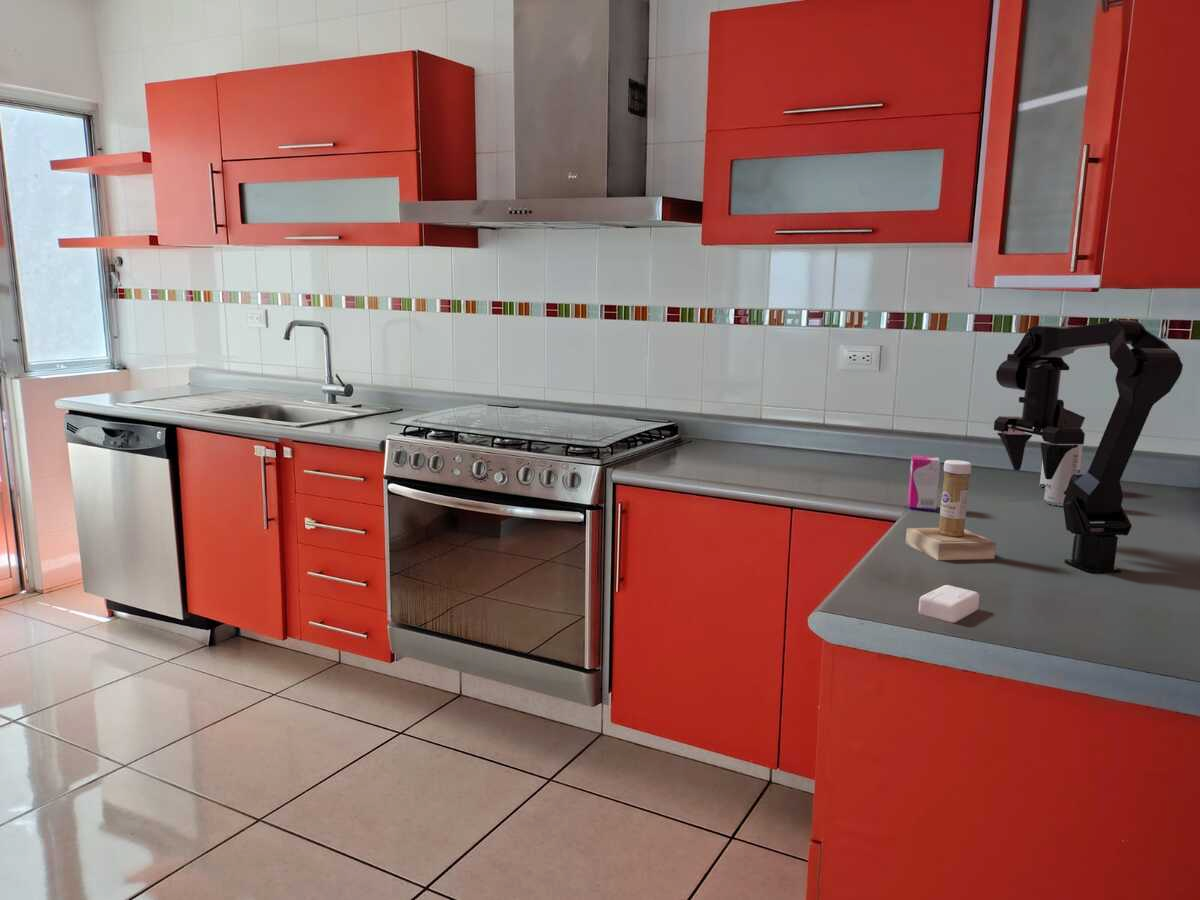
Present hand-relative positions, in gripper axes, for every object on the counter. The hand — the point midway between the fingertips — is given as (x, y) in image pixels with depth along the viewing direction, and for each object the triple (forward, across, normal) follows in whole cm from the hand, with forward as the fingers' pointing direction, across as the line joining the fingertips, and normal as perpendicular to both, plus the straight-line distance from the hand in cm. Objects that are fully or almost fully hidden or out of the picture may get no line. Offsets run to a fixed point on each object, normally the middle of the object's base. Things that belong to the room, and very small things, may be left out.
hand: (1032, 474), depth 170 cm
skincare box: (+13, +49, -45) cm, 68 cm away
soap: (+14, -37, +39) cm, 56 cm away
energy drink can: (+13, +31, -31) cm, 46 cm away
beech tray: (+13, -6, +20) cm, 25 cm away
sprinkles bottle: (+10, -6, +20) cm, 23 cm away
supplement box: (+13, +29, +5) cm, 32 cm away
